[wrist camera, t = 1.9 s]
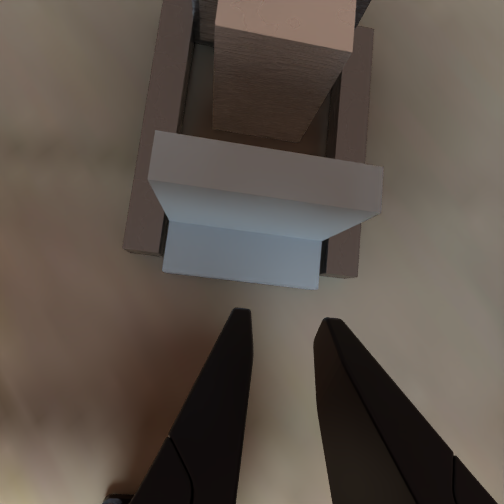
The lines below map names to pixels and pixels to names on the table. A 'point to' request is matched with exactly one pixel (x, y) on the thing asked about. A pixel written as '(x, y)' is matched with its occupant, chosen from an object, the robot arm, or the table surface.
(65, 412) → the table surface
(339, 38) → the wooden block
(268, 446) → the table surface
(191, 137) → the jaw
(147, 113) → the vise
